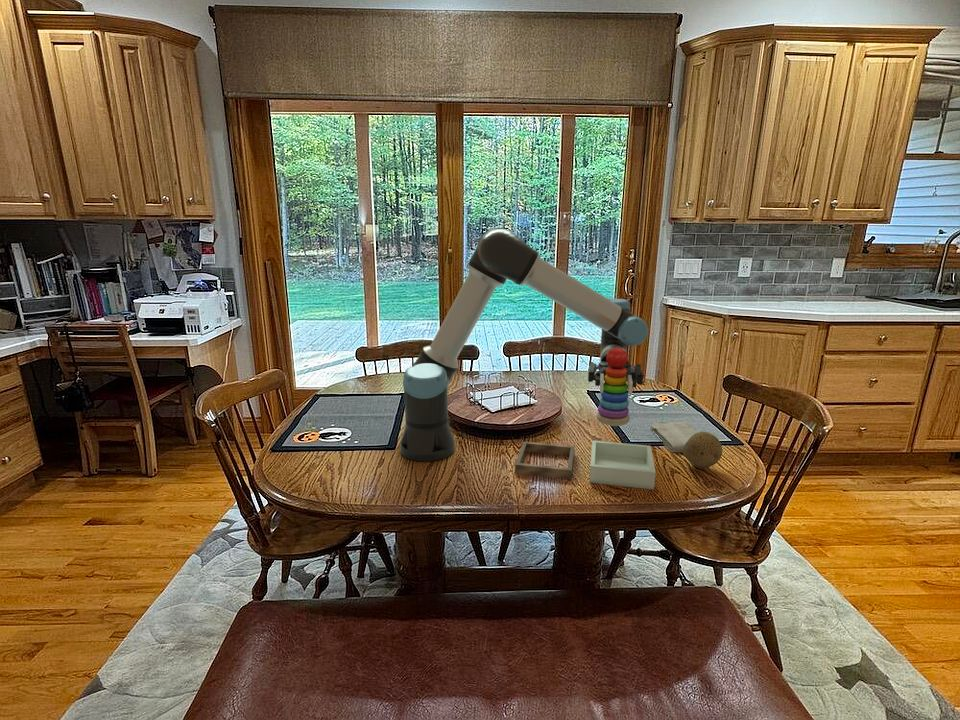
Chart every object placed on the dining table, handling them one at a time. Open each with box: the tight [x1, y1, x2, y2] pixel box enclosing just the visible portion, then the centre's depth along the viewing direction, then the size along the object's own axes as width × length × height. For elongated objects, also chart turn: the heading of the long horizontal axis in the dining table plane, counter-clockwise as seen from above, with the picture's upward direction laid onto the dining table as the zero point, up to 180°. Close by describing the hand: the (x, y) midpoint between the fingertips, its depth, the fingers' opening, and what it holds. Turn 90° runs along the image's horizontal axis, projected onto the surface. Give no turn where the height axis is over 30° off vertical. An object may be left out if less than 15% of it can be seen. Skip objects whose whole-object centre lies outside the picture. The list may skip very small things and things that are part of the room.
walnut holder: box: [514, 441, 576, 480], centre depth 134 cm, size 14×14×2 cm
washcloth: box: [649, 421, 698, 453], centre depth 149 cm, size 12×18×3 cm, turn 4°
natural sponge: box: [683, 431, 723, 470], centre depth 130 cm, size 9×9×10 cm
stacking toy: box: [596, 348, 631, 427], centre depth 125 cm, size 8×8×19 cm
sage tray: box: [589, 440, 656, 491], centre depth 129 cm, size 15×15×4 cm
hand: (616, 387), depth 120 cm, fingers closed on stacking toy, 6 cm apart
